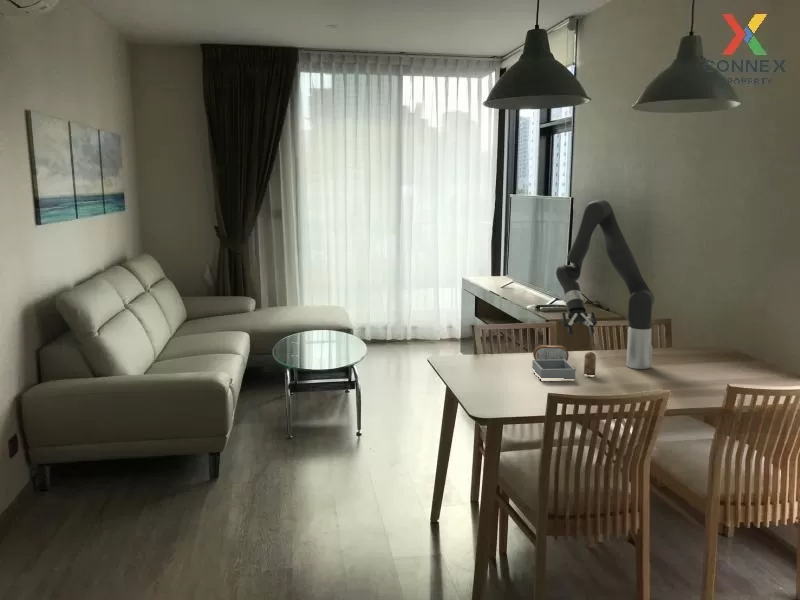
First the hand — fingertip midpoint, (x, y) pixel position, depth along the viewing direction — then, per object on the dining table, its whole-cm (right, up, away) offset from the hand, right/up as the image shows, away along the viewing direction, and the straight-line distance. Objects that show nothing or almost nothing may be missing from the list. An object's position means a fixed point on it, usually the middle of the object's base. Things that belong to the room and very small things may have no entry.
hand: (581, 334), depth 268 cm
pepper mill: (0, -16, -9) cm, 19 cm away
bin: (-15, -17, -9) cm, 24 cm away
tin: (-11, -14, +9) cm, 20 cm away
